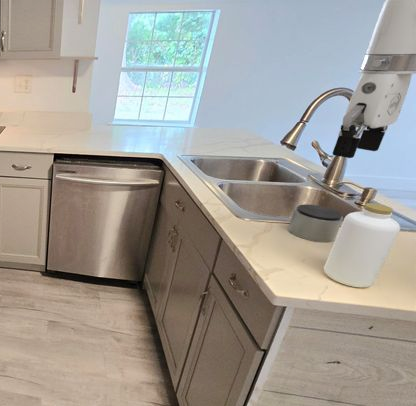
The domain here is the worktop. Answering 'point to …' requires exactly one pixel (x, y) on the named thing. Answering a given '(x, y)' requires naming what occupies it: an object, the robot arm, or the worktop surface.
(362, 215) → the white bottle
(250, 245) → the worktop surface
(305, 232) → the grey cylinder
